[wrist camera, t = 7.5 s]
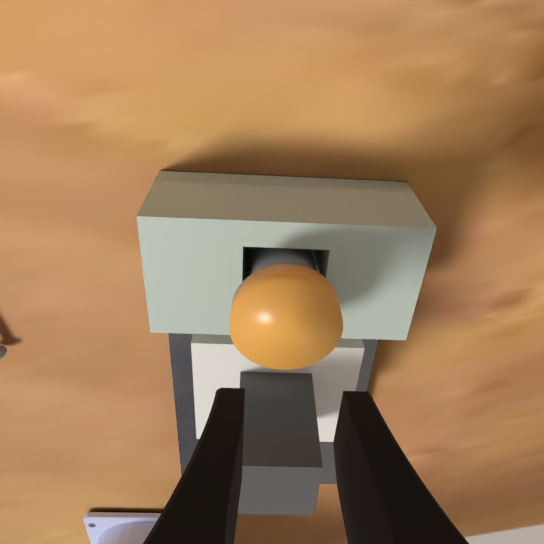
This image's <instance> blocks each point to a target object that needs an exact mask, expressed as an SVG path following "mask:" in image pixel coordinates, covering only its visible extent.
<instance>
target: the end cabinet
mask: <svg viewBox="0 0 544 544" xmlns="http://www.w3.org/2000/svg"><path fill="white" fill-rule="evenodd" d="M394 182H395V181H391V182H390V181H387V182H386V181H380V180H357V179H334V178H312V177H289V176H266V175H244V174H221V173H198V172H176V171H159V173H158V175H157V177H156V179H155V181H154V183H153V184H152V186H151V188H150V190H149V192H148V194H147V196H146V198H145V200H144V202H143V204H142V206H141V208H140V210H139V212H138V214H137V225H138V233H139V241H140V250H141V258H142V266H143V275H144V283H145V291H146V300H147V308H148V316H149V325H150V332H152V333H184V334H217V335H230V328H229V326H230V316H231V305H232V300H233V296H234V294H235V291H236V290H237V288H238V287H239V285H240V284H241V283H242V282H243V281H244V280H245V279H246V278H247V277H248V276H250V275H251V272H250V271H249V272H248V271H244V270H245V269H244V268H245V266H246V265H247V264H245V247H255V248H256V247H266V248H293V249H317V251H316V259H315V271H316V272H318V273H320V274H321V275H323V276H324V277H325V278H326V279H327V280H328V281H329V282H330V283H331V284H332V286H333V287H334V289H335V291H336V293H337V296H338V300H339V304H340V309H341V313H342V318H343V332H342V336H341V338H347V339H379V340H406V338H407V335H408V331H409V328H410V324H411V320H412V317H413V313H414V310H415V306H416V302H417V299H418V295H419V292H420V288H421V284H422V281H423V277H424V274H425V270H426V266H427V263H428V259H429V256H430V252H431V248H432V245H433V241H434V238H435V234H436V230H437V227H436V226H435V224H434V223H433V221H432V220H431V218H430V217H429V215H428V213H427V212H426V210H425V209H424V207H423V206H422V204H421V203H420V201H419V200H418V198H417V196H416V195H415V193H414V192H413V190H412V189H411V187H410V186H409V184H408V183H406V182H403V183H402V181H400V182H399V181H397V182H395V183H394ZM250 250H251V249H250ZM249 252H250V251H249ZM247 254H248V252H247ZM249 260H250V259H249ZM250 270H251V269H250Z"/></svg>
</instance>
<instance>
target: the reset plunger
mask: <svg viewBox="0 0 544 544" xmlns="http://www.w3.org/2000/svg"><path fill="white" fill-rule="evenodd" d="M229 328H230V335H231V339H232V341H233V343H234V345H235V347H236V348H237V350H238V351H239V352H240V353H241V354H242V355H243V356H244V357H246V358H247V359H248V360H250V361H252V362H254V363H255V364H258V365H260V366H263V367H267V368H271V369H278V370H292V369H299V368H303V367H307V366H310V365H312V364H315V363H317V362H318V361H320V360H322V359H323V358H325V357H326V356H327V355H329V354H330V353H331V352H332V351H333V350H334V348H335V347H336V346H337V344H338V342H339V341H340V338H341V336H342V332H343V318H342V313H341V309H340V304H339V300H338V296H337V293H336V291H335V289H334V287H333V286H332V284H331V283H330V282H329V281H328V280H327V279H326V278H325V277H324V276H323V275H321V274H320V273H318V272H316V271H315V265H314V259H313V254H312V251H311V249H293V248H266V247H256V248H255V250H254V252H253V255H252V261H251V275H250V276H248V277H247V278H246V279H245V280H244V281H243V282H242V283H241V284H240V285H239V287H238V288H237V290H236V291H235V294H234V296H233V300H232V305H231V316H230V326H229Z"/></svg>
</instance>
